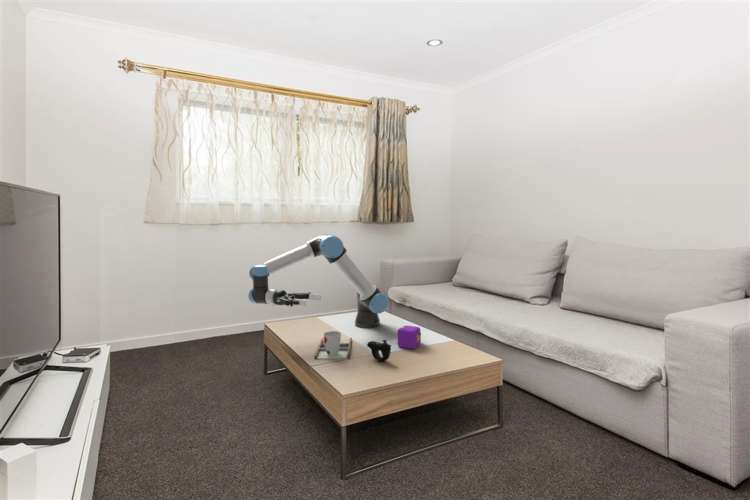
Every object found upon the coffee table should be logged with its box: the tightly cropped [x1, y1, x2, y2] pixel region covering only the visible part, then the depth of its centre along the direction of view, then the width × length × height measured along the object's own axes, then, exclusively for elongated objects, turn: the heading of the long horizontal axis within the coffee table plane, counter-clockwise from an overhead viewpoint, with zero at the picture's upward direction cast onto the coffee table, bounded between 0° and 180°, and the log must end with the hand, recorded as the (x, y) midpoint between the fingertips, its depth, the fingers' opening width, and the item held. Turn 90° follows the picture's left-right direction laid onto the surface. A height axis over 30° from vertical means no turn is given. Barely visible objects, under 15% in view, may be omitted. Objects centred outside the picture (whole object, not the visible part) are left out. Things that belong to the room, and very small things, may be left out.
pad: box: [316, 351, 348, 360], centre depth 198 cm, size 14×10×1 cm
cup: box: [323, 330, 342, 356], centre depth 198 cm, size 8×8×10 cm
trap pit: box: [320, 342, 349, 351], centre depth 207 cm, size 14×8×2 cm, turn 90°
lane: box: [313, 337, 353, 360], centre depth 206 cm, size 16×27×2 cm, turn 0°
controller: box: [366, 339, 392, 363], centre depth 189 cm, size 4×12×10 cm, turn 49°
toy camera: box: [396, 325, 422, 350], centre depth 210 cm, size 11×14×10 cm
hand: (313, 300), depth 200 cm, fingers open, 13 cm apart
